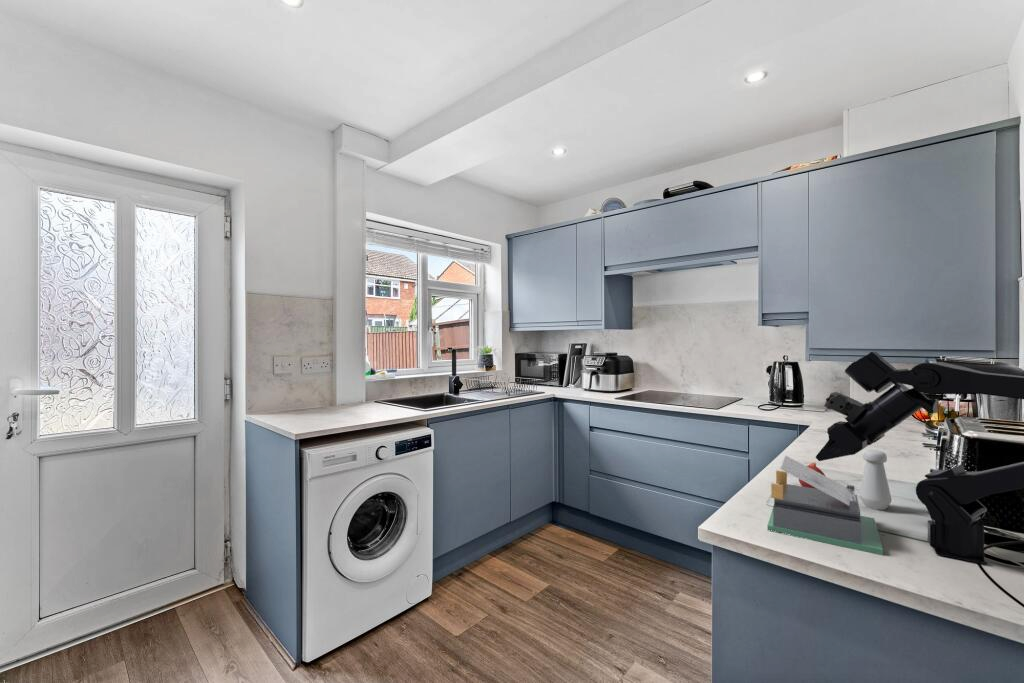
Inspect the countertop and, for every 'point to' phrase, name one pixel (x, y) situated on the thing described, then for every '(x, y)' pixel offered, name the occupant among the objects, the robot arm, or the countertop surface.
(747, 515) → the countertop surface
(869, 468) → the salt shaker
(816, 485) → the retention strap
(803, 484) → the onion
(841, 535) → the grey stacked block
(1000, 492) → the robot arm
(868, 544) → the processor board
